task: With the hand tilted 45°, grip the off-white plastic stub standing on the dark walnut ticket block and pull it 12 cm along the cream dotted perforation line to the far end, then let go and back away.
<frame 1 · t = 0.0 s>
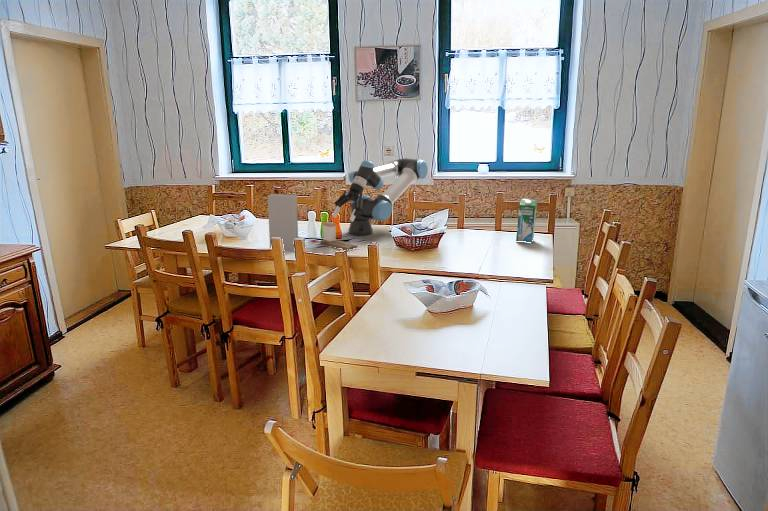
hand: (342, 218, 284), 15 cm above the table, tool tilted 35°, fingers open, 13 cm apart
tall grey block: (284, 250, 277), on the table
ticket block: (338, 246, 286), on the table
milk carton: (524, 241, 304), on the table
stub: (329, 231, 289), point 7 cm above the table, slide at 0.0 cm
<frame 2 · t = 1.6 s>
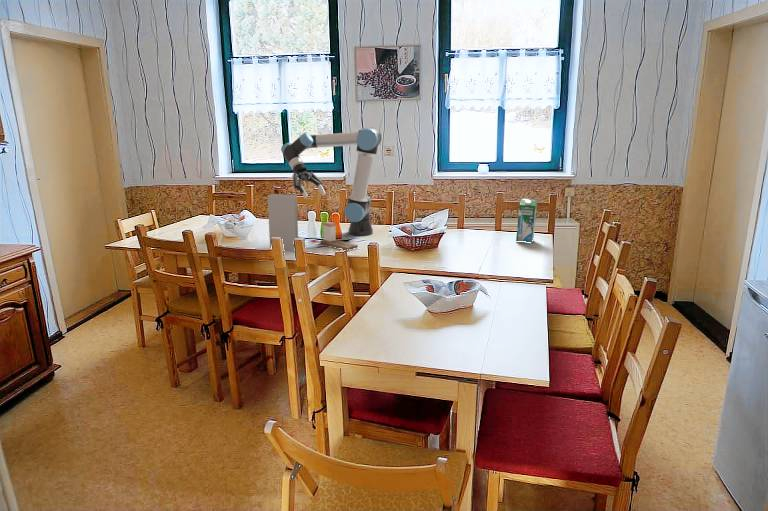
hand: (315, 195, 290), 26 cm above the table, tool tilted 45°, fingers open, 13 cm apart
nothing on the table moved.
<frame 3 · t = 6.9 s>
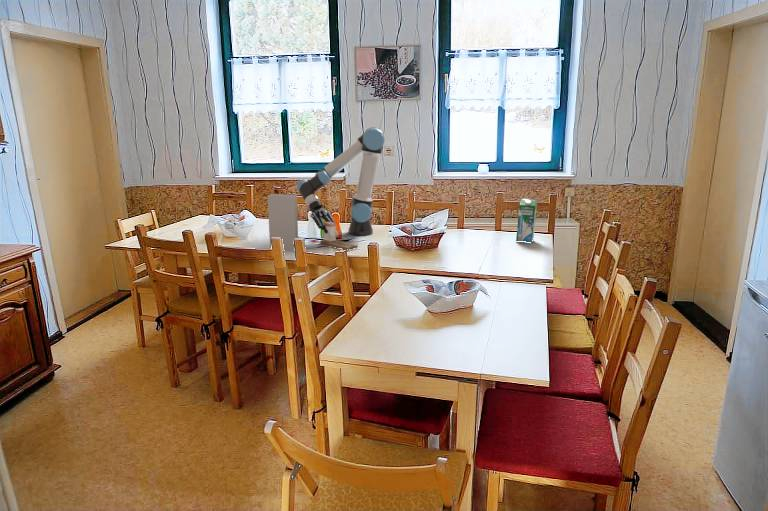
hand: (334, 236, 287), 5 cm above the table, tool tilted 45°, fingers closed on stub, 4 cm apart
stub: (329, 231, 289), point 7 cm above the table, slide at 0.0 cm, touching gripper
everything else where it was.
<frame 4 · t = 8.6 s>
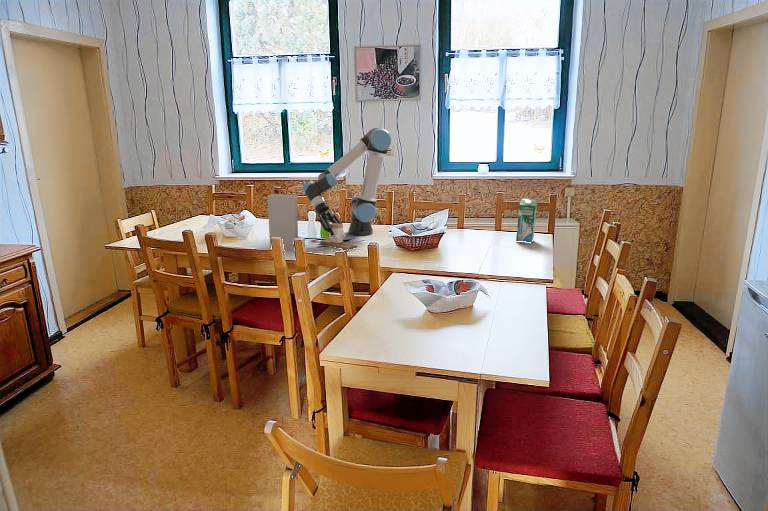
hand: (340, 238, 283), 5 cm above the table, tool tilted 45°, fingers open, 5 cm apart
stub: (336, 233, 285), point 7 cm above the table, slide at 5.7 cm, touching gripper
everything else where it was.
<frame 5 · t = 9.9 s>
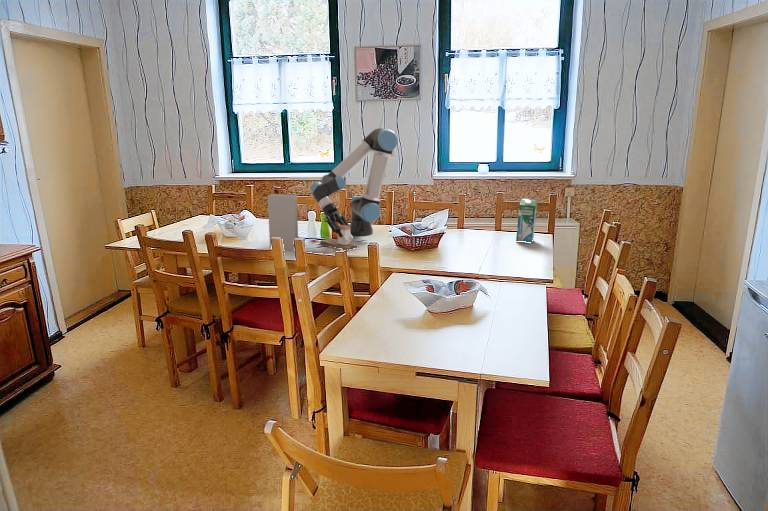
hand: (348, 240, 280), 5 cm above the table, tool tilted 45°, fingers closed on stub, 4 cm apart
stub: (343, 234, 281), point 7 cm above the table, slide at 11.6 cm, touching gripper
everything else where it was.
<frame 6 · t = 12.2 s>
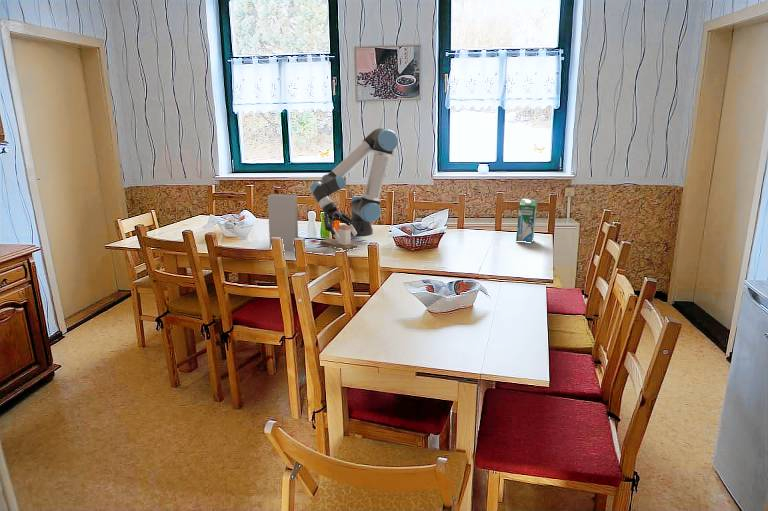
hand: (347, 237, 280), 7 cm above the table, tool tilted 45°, fingers open, 13 cm apart
stub: (344, 234, 281), point 7 cm above the table, slide at 11.9 cm
everything else where it was.
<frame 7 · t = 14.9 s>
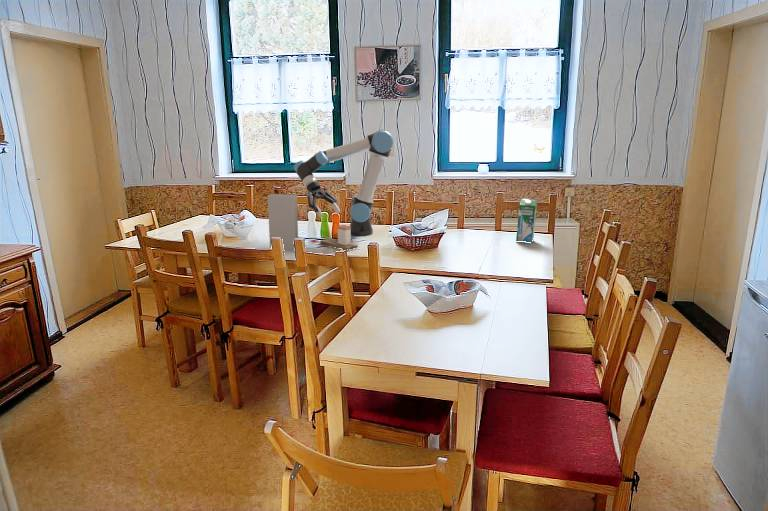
hand: (330, 214, 285), 17 cm above the table, tool tilted 45°, fingers open, 13 cm apart
nothing on the table moved.
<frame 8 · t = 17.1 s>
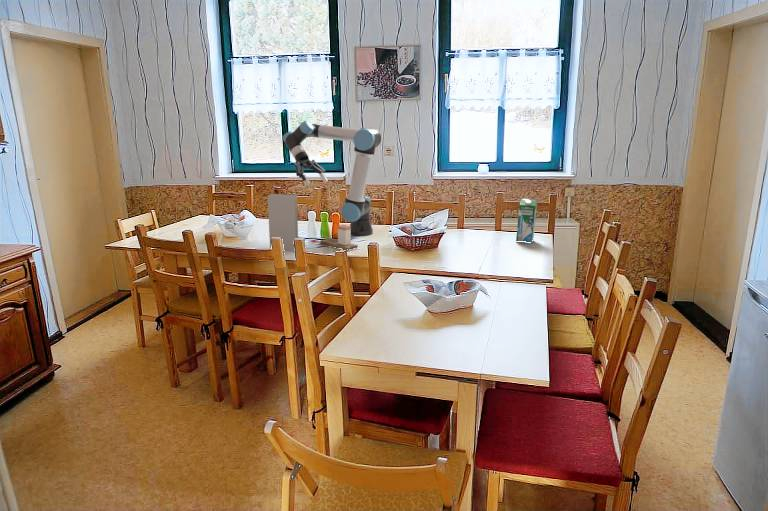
hand: (317, 183, 293), 33 cm above the table, tool tilted 45°, fingers open, 13 cm apart
nothing on the table moved.
at the end: stub slide at 11.9 cm; the gripper is holding nothing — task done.
